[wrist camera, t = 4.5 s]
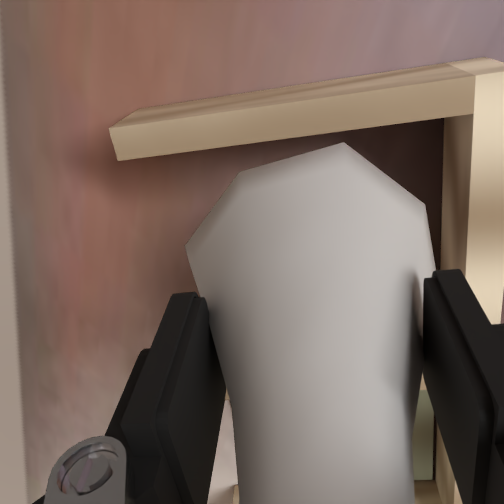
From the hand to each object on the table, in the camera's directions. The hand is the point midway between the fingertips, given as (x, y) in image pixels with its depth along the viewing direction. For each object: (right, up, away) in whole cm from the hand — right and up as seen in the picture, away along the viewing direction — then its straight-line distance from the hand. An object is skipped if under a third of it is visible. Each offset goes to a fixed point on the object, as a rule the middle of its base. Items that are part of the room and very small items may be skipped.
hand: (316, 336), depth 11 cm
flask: (0, +2, +3) cm, 4 cm away
